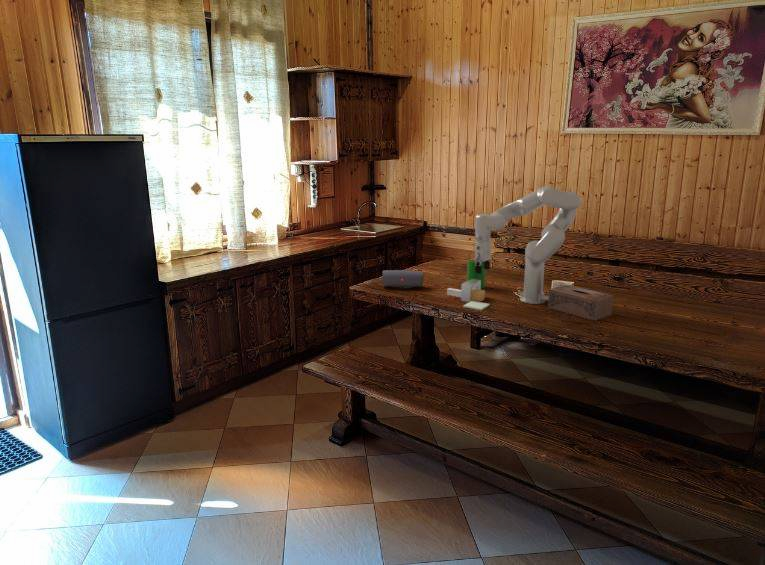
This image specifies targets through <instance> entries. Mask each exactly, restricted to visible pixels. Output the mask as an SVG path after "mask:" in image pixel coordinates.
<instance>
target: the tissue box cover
mask: <svg viewBox="0 0 765 565" xmlns="http://www.w3.org/2000/svg"><path fill="white" fill-rule="evenodd" d="M548 296H549V300H548V301H547V302H548V303H547V309H551V310H553V309H554V311H557V310H558V311H557V312H561V311H562V313H564V312H565V314H568V313H569V314H568V315H572V314H573V315H572V316H575V315H577V316H576V317H579V316H580V317H579V318H582V317H583V319H586V318H587V319H586V320H590V319H591V321H593V320H595V321H594V322H597V321H599V320H602V319H604V318H607V317H609V315H610V316H612V314H613V304H614V295H613V294H609V293H605V292H601V291H595V290H592V289H591V290H590V289H587V288H584V287H579V286H575V285H571V284H562V285H559V286H556V287H553V288H550V289H548ZM606 316H607V317H606ZM601 318H602V319H601ZM598 319H599V320H598ZM596 320H597V321H596Z"/></svg>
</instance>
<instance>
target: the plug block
mask: <svg viewBox="0 0 765 565" xmlns="http://www.w3.org/2000/svg"><path fill="white" fill-rule="evenodd" d="M485 293H486V290H485V289H481V290H479V289H475V290H473V292H472V301H476V302H481V303H482V302H483V301H485Z"/></svg>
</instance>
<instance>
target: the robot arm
mask: <svg viewBox="0 0 765 565" xmlns="http://www.w3.org/2000/svg"><path fill="white" fill-rule="evenodd" d="M581 204H582V198H581V197H580V195H578V194H577V193H574V192H573V191H569V190H566V191H565V190H560V189H556V188H553V187H550V186H548V185H547V186H546V185H545V186H542V187H539V188H537V189H536V190H534V191H532V192H531V193H529V194H527V195H525V196H524V197H521V198H519V199H518V200H515V201H513V202H511V203H508V204H507V205H504V206H502V207H500V208H499V209H497V210H496V211H494V212H492V213H491V214H487V213H479V214H476V215H475V220H474V221H475V226H474V227H475V230H474V231H475V232H474V233H475V235H474V236H475V239H474V240H475V241H474V242H475V250H474V258H473V261H475V273H479V274H481V263H482V261H483V262H484V269H485V270H491V269H490V268H491V259H492V243H491V229H493V230H502V229H504V228H505V227H506V226H507V224H508V223H507V222H508V221H510V220H512V219H514V218H516V217H521V216H526V215H529V214H531V213H533V212H535V211H536V210H538V209H540V208H542V207H543V206H545V205H546V206H548V207H552V208H556V209H558V211H557V213H556V215H555V216H554V217H553V218H552V220H550V221H549V223H548V224H547V225H546V226H545V227H544V228H543V229H542V231H541V233H540V236H541V239H540V240H532V241H529V243H527V245H526V247H525V251H524V254H525V256H524V257H525V259H524V262H525V263H524V279H523V280H524V282H523V291H522V292H523V293H522V296H520V297H519V300H520V302H522V303H525V304H530V305H540V304H541V305H542V304H544V303H546V301H547V302H548V300H549V295H545V292H543V289H544V275H545V263H546V262H547V261H548V260H549V259H550V258H551V257H552V256H553V255H554V254H555V253H556V252H557V250H559V249H560V247H561V246H562V245H563V243H564V241H565V238H566V234H565V232H566V231H567V230H568V228H569V227H570V226H571V225H572V223H573V222H574V220H575V219H576V215H577V209H579V207H580V206H581ZM479 262H480V263H479Z"/></svg>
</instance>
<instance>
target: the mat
mask: <svg viewBox="0 0 765 565" xmlns="http://www.w3.org/2000/svg"><path fill="white" fill-rule="evenodd" d="M462 306H463V308H466V309H472V310H477V311H483V310H485V309H487V308H489V307H490V306H491V305H490V303H487V302H482V301H481V302H479V301H473V300H472V301H471V302H466V303H465V304H463V305H462Z"/></svg>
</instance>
